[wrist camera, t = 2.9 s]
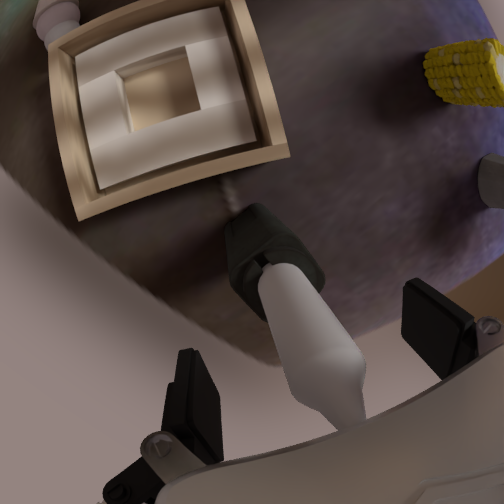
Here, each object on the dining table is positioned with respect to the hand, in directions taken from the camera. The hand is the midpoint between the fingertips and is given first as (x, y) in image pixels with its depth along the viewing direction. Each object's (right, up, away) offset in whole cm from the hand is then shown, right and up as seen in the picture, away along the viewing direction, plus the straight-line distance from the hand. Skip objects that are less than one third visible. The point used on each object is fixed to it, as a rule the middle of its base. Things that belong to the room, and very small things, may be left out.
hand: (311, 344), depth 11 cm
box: (-11, +19, +13) cm, 26 cm away
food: (+24, +28, +15) cm, 40 cm away
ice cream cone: (-26, +33, +7) cm, 42 cm away
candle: (-2, +6, +18) cm, 20 cm away
